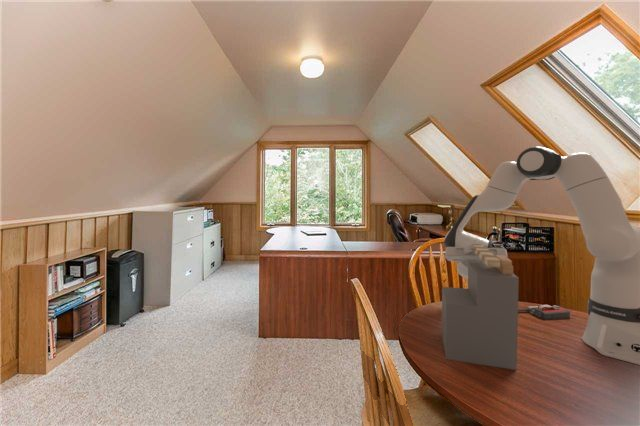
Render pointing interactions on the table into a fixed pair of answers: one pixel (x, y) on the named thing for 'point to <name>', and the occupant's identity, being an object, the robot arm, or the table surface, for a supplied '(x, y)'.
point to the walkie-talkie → (548, 311)
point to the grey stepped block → (483, 316)
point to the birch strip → (486, 256)
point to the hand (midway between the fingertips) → (478, 247)
